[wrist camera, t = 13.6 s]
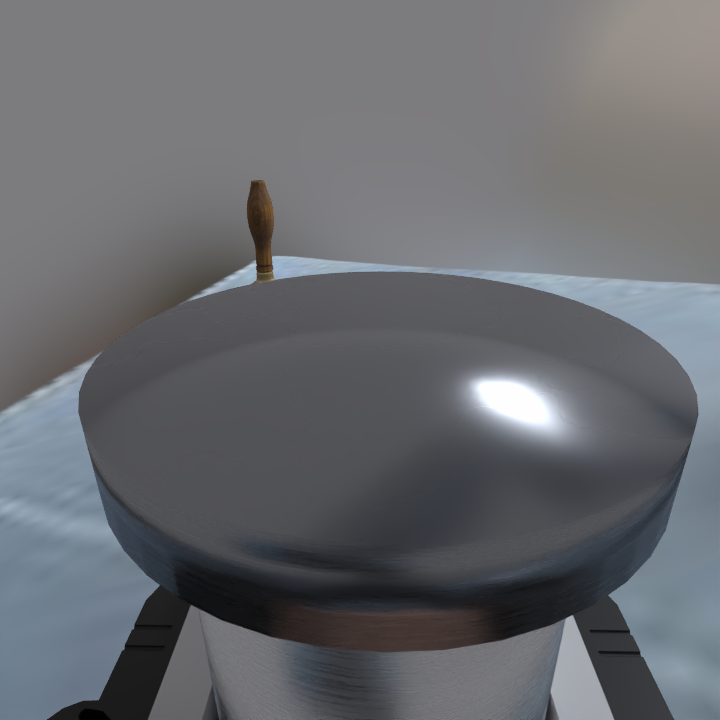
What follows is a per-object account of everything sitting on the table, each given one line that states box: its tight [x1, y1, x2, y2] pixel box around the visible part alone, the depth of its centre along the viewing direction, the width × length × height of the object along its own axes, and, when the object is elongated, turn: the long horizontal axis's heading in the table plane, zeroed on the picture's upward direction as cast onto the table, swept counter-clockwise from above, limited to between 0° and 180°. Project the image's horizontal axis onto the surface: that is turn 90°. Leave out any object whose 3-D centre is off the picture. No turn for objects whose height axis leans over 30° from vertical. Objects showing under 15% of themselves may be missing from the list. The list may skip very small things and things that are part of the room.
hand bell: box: [247, 180, 275, 284], centre depth 55 cm, size 8×8×16 cm
